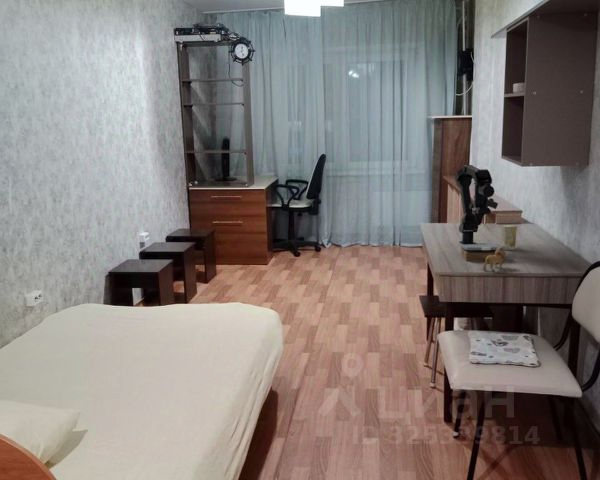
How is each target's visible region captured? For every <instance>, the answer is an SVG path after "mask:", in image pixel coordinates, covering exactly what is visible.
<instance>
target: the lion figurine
mask: <svg viewBox="0 0 600 480" xmlns="http://www.w3.org/2000/svg"><path fill="white" fill-rule="evenodd" d="M495 253H496V254H495V255H493V256H492V255H489V256H487V257H486V260H485V261H484V263H483V266H482V270H483V271H484V272H486V271H487V265H488V264H489V268H490V270H491V271H493V272H494V271H495V269H494V268H497V263H499V267H498V268H499V269H503V265H502V264H503V262H504V261H503V260H504V256H505V257H506V252H505V250H504V249H503V248H501V247H498V248H497V249H496V251H495Z"/></svg>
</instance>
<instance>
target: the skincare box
mask: <svg viewBox="0 0 600 480" xmlns="http://www.w3.org/2000/svg"><path fill="white" fill-rule="evenodd" d="M517 227H518V226H517V225H515V224H506V225H505V224H504V225H501V229H500V230H501V231H500V232H501V234H500V244H499V245H501V246H504V247H505V250H504V251H510V250H511V251H512V250H516V242H517V241H516V240H517Z"/></svg>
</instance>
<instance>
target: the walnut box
mask: <svg viewBox="0 0 600 480" xmlns="http://www.w3.org/2000/svg"><path fill="white" fill-rule="evenodd" d="M495 251H496V250H465V249H464V248H462V247H461V246H460V256H461V257H462V258H463V259H464V260H465V261H466V262H485V260H486V257H487V256H489V255H492V256H493V255H495V254H496V253H495ZM504 261H506V255H505V256H504V260H503V261H502V262H504Z"/></svg>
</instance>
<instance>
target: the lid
mask: <svg viewBox="0 0 600 480" xmlns="http://www.w3.org/2000/svg"><path fill="white" fill-rule="evenodd" d="M461 247H462V248H464V249H465V250H496V249H497V248H498V247H501V248H503V249H504V251H506V250H505V247H504V246H501V245H500V244H498V243H490V244H489V243H488V244H487V243H485V244H484V243H483V244H482V243H481V244H478V243H476V244H466V245H465V244H461V245H460V248H461Z"/></svg>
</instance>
